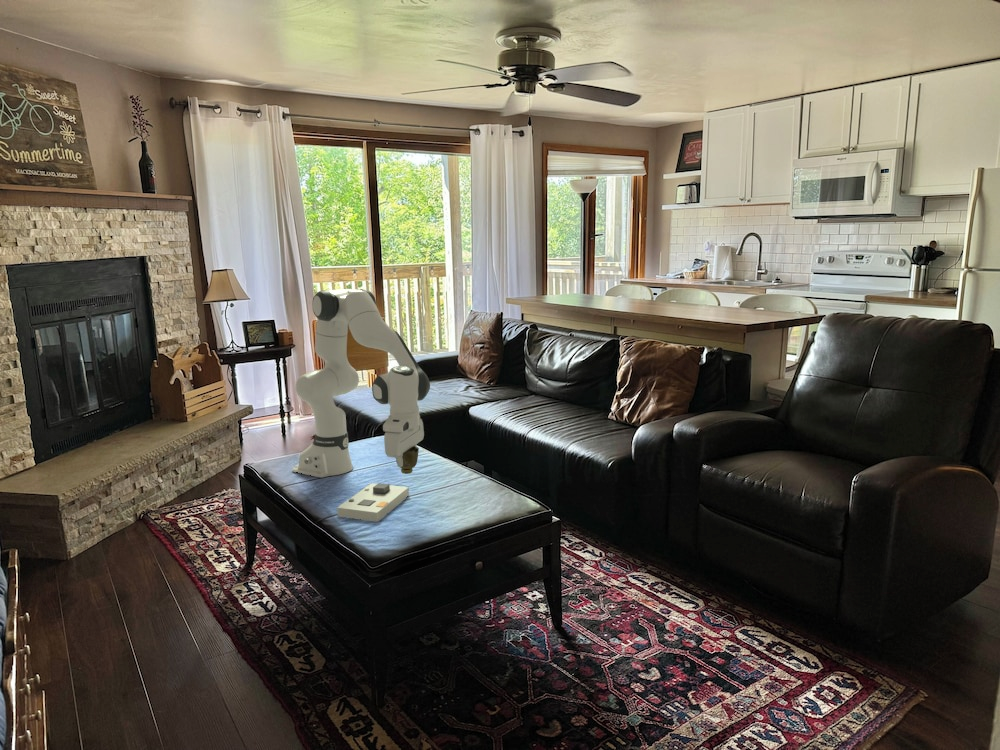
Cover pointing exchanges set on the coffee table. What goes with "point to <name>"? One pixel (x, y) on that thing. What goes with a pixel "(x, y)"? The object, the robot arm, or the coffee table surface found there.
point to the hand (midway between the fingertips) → (406, 462)
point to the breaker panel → (378, 508)
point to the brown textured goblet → (409, 460)
